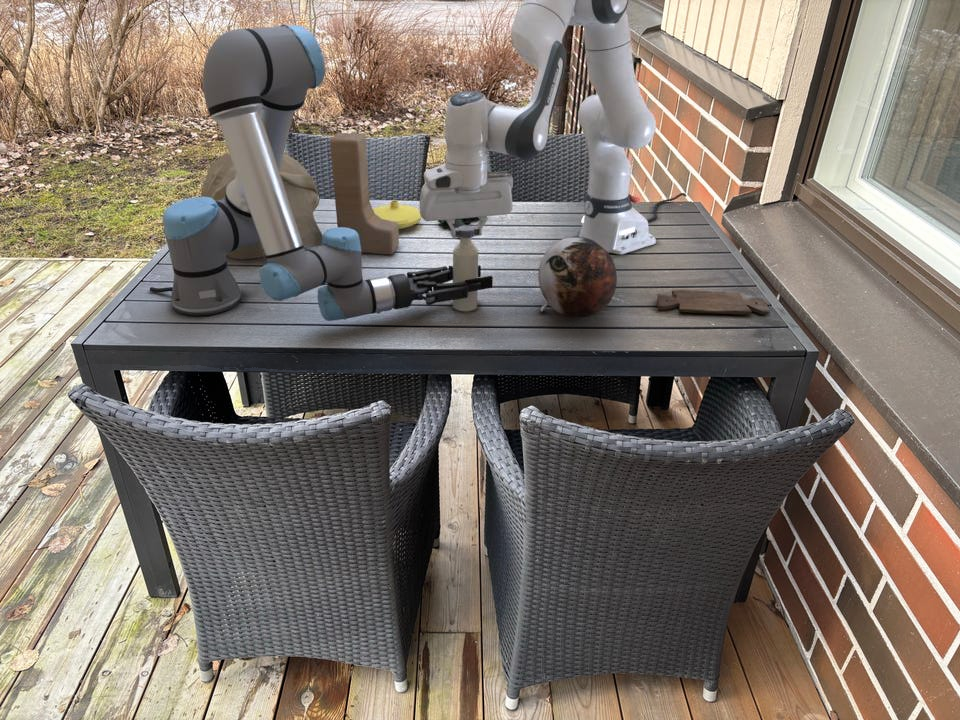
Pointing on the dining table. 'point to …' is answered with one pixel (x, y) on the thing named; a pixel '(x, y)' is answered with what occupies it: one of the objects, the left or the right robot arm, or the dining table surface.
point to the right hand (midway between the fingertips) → (466, 236)
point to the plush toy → (577, 277)
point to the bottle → (465, 271)
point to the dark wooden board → (711, 302)
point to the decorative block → (358, 195)
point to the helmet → (297, 190)
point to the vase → (399, 214)
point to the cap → (466, 231)
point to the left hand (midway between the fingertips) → (485, 276)
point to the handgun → (458, 222)
